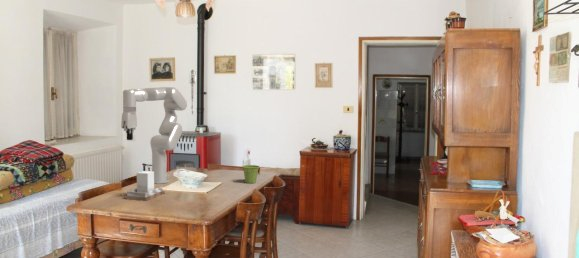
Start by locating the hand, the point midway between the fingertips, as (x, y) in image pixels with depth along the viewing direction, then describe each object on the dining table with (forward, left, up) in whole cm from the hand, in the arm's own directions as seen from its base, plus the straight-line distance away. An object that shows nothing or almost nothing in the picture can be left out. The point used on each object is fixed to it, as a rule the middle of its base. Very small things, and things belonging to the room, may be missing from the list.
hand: (129, 139), depth 288 cm
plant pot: (-48, +62, -31) cm, 84 cm away
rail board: (+12, +18, -31) cm, 38 cm away
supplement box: (+12, +18, -30) cm, 37 cm away
